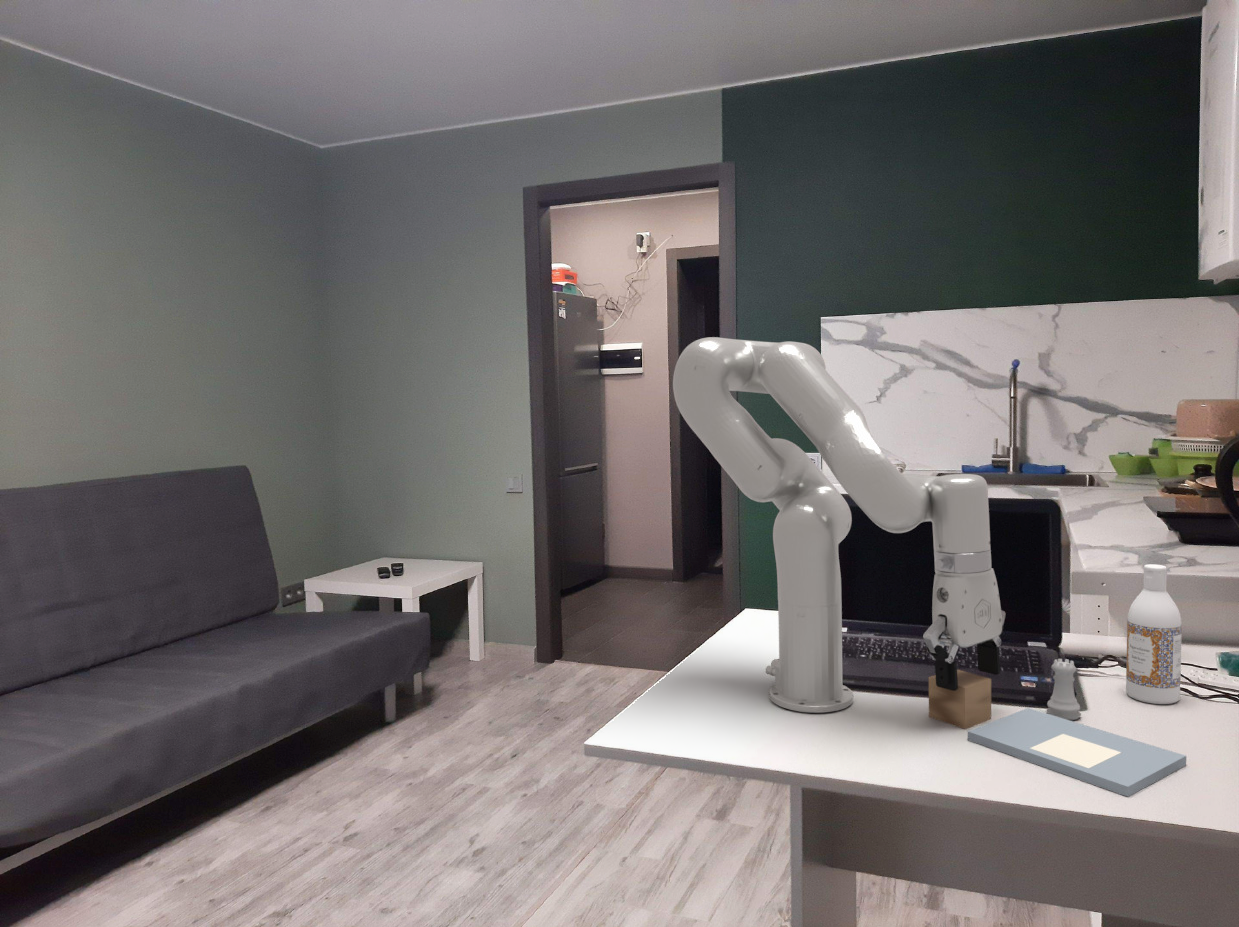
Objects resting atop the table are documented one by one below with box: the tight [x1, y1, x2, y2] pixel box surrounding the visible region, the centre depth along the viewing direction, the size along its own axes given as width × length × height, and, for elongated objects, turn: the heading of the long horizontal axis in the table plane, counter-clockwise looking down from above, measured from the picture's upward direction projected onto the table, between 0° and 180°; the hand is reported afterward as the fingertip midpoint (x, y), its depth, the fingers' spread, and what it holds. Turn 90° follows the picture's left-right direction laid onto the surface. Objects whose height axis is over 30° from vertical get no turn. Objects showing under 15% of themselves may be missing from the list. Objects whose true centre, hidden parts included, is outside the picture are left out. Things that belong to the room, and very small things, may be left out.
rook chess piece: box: [1046, 658, 1082, 722], centre depth 127 cm, size 4×4×8 cm
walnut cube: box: [928, 668, 992, 730], centre depth 127 cm, size 6×6×6 cm
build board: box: [967, 707, 1187, 798], centre depth 115 cm, size 21×14×1 cm, turn 34°
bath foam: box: [1125, 563, 1183, 705], centre depth 132 cm, size 7×7×20 cm
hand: (968, 680), depth 127 cm, fingers open, 9 cm apart
